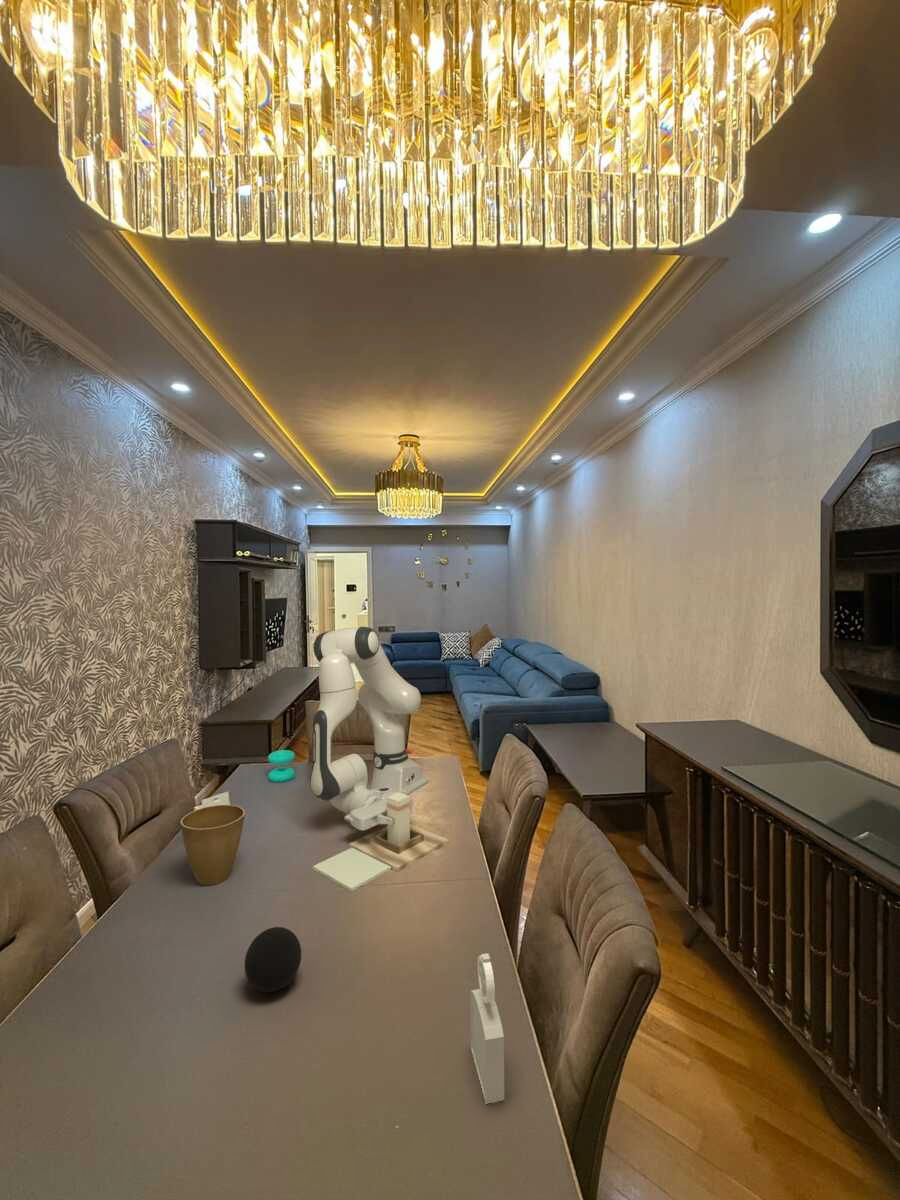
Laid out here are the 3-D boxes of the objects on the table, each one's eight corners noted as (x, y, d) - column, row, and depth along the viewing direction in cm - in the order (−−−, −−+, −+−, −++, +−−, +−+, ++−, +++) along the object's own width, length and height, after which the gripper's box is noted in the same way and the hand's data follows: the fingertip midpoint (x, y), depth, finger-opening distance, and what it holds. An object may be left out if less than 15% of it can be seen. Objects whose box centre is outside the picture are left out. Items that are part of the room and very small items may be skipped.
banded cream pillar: (399, 839, 155) (398, 792, 154) (410, 844, 152) (410, 796, 151) (387, 845, 151) (386, 797, 151) (398, 851, 148) (398, 801, 148)
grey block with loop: (487, 1045, 85) (486, 935, 85) (504, 1101, 76) (503, 977, 75) (470, 1048, 84) (469, 937, 84) (485, 1104, 75) (484, 980, 75)
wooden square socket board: (399, 823, 166) (399, 814, 165) (448, 843, 152) (448, 833, 152) (348, 847, 150) (348, 837, 150) (397, 871, 137) (397, 860, 137)
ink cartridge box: (222, 836, 158) (221, 787, 158) (231, 840, 155) (230, 791, 155) (193, 847, 151) (192, 796, 151) (202, 852, 148) (201, 800, 148)
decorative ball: (309, 967, 103) (308, 916, 103) (289, 1008, 93) (288, 952, 93) (260, 964, 104) (259, 914, 104) (234, 1004, 94) (233, 948, 94)
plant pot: (222, 897, 127) (221, 831, 126) (168, 890, 130) (166, 826, 129) (257, 865, 141) (256, 805, 141) (207, 860, 144) (206, 801, 144)
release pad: (351, 850, 149) (351, 847, 149) (390, 869, 138) (390, 866, 138) (312, 869, 139) (312, 866, 139) (351, 891, 128) (351, 888, 128)
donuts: (296, 754, 203) (269, 758, 199) (297, 780, 203) (269, 784, 199) (292, 747, 212) (266, 751, 208) (293, 772, 212) (267, 776, 208)
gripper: (340, 806, 152) (372, 819, 143) (393, 785, 167) (424, 796, 158) (341, 828, 152) (373, 842, 143) (393, 805, 167) (425, 817, 158)
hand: (400, 818), depth 151 cm, fingers closed on banded cream pillar, 4 cm apart
